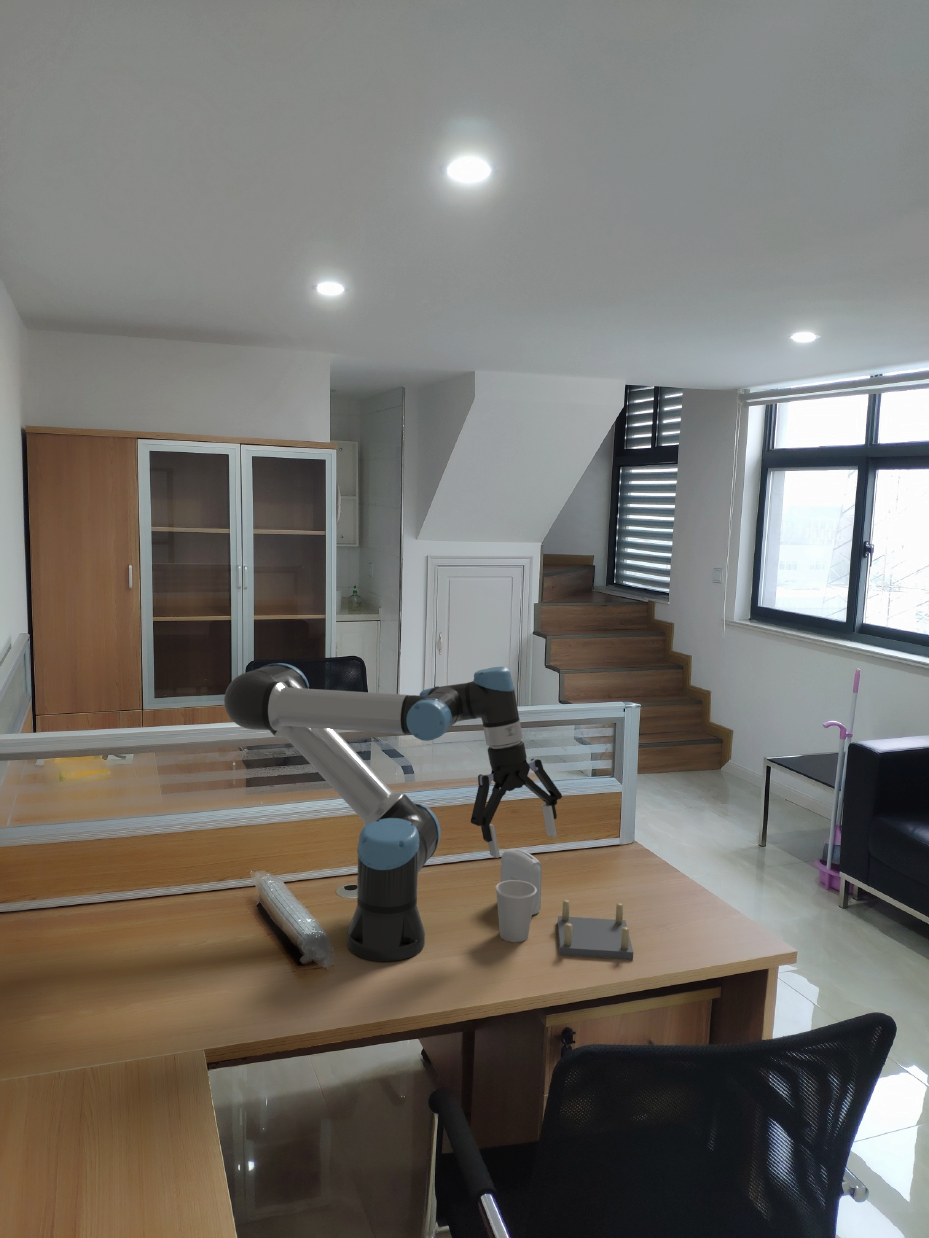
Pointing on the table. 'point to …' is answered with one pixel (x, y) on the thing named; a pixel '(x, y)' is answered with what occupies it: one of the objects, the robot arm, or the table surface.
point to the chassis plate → (594, 935)
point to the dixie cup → (515, 909)
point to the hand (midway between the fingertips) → (524, 845)
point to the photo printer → (522, 871)
